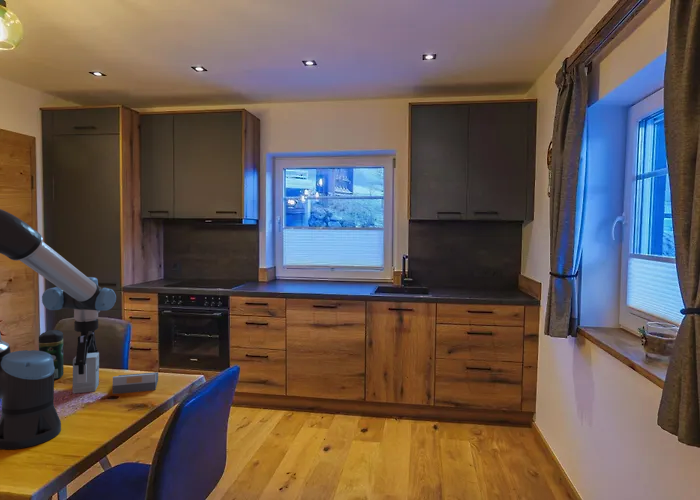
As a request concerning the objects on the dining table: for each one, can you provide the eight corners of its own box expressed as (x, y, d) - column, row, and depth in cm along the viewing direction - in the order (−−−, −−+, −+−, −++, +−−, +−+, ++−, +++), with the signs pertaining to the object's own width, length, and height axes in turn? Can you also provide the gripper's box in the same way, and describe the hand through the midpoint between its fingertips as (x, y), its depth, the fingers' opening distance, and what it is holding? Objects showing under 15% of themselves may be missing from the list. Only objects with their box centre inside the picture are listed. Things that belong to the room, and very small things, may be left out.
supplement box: (95, 391, 153) (95, 357, 153) (71, 393, 151) (72, 358, 150) (99, 384, 160) (99, 351, 160) (76, 387, 158) (76, 353, 157)
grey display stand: (155, 390, 156) (155, 374, 156) (112, 394, 151) (112, 377, 151) (158, 379, 167) (158, 364, 167) (118, 383, 163) (118, 367, 162)
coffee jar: (41, 375, 169) (41, 329, 169) (64, 372, 173) (64, 327, 173) (36, 382, 161) (36, 334, 160) (61, 380, 165) (61, 332, 164)
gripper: (89, 326, 144) (90, 387, 145) (105, 312, 168) (105, 365, 169) (64, 327, 142) (64, 389, 143) (83, 313, 165) (83, 366, 166)
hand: (86, 376), depth 156 cm, fingers open, 13 cm apart
